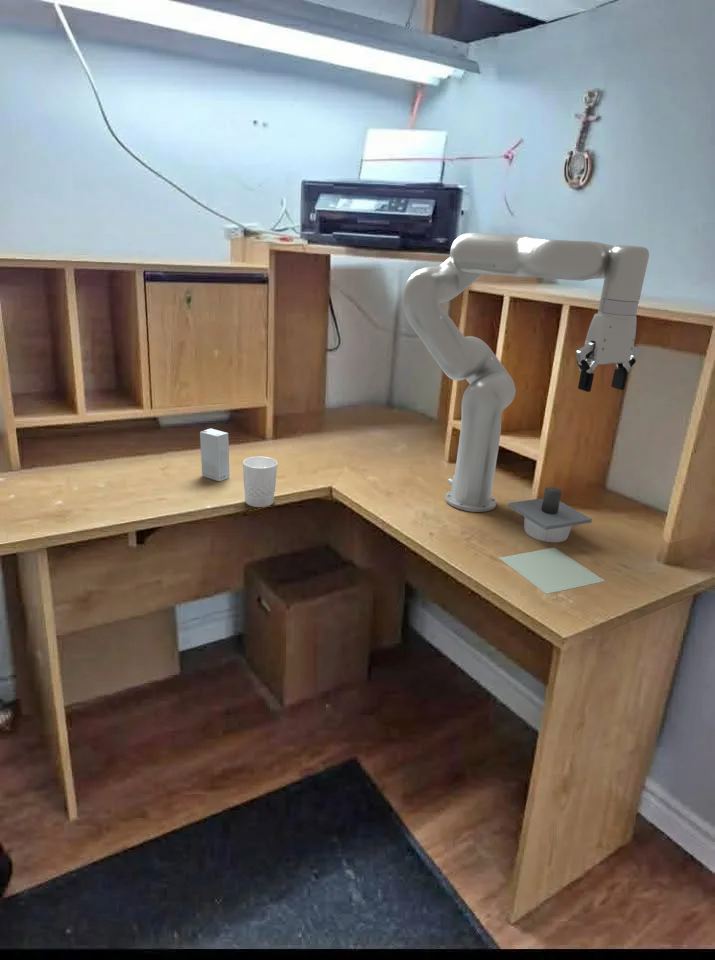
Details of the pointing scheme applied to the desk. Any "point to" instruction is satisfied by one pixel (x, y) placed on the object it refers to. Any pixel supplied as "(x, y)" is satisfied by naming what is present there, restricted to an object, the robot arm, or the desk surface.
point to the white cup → (259, 480)
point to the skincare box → (215, 454)
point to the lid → (549, 511)
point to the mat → (551, 570)
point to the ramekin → (546, 532)
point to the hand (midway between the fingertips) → (600, 389)
